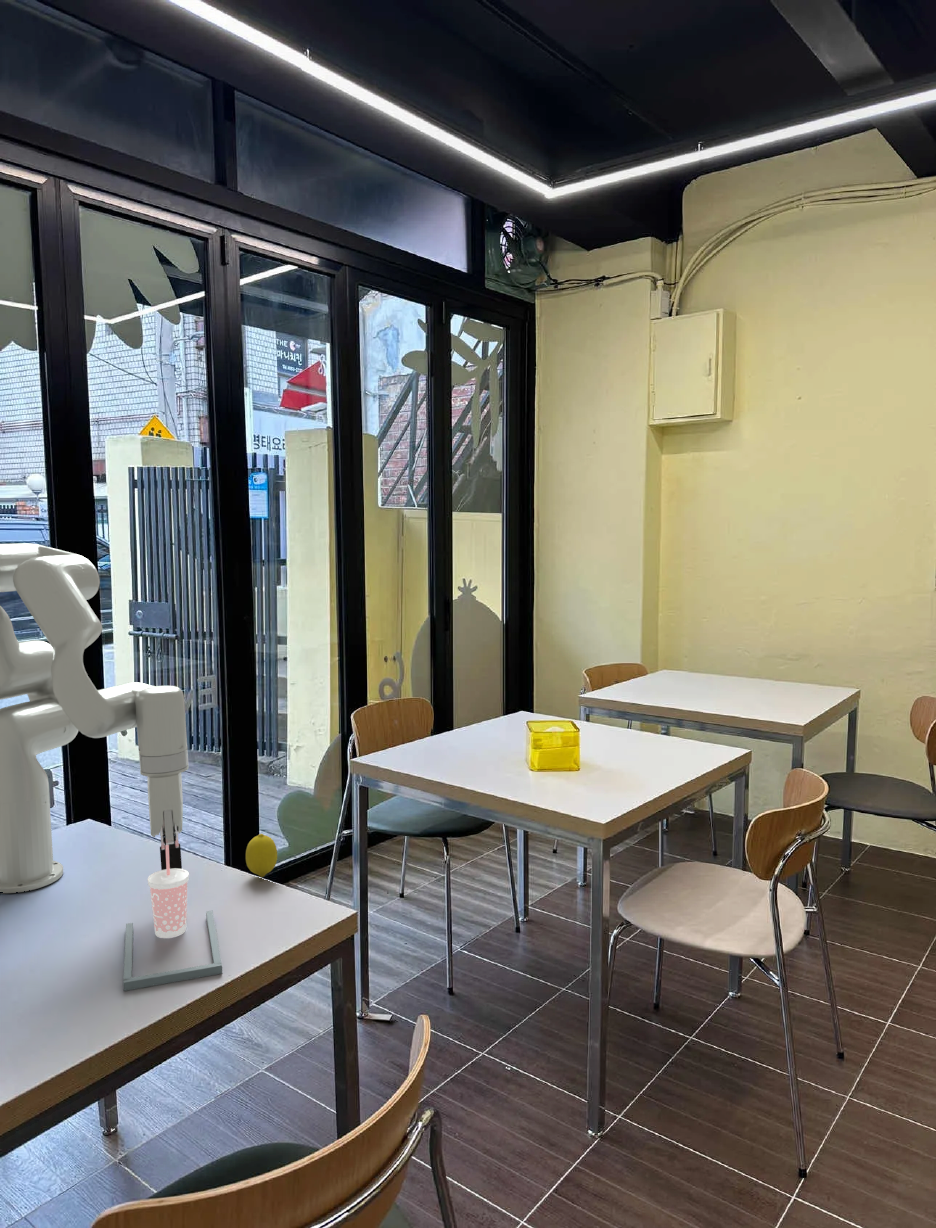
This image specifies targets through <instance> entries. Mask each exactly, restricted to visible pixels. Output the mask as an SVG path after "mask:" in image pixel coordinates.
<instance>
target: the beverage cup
mask: <svg viewBox="0 0 936 1228" xmlns="http://www.w3.org/2000/svg"><path fill="white" fill-rule="evenodd" d="M165 846H166V869H165V870H161V869H160V870H158V871H155V872H153V873H151V874H150V875H148V877H147V885H148V887H149V891H150V901H151V908H152V919H153V925H154V934H155V936H156V937H157V938H161V939H172V938H176V937H179V936H181V935H183V934H184V933H185V932H186V931H187V915H188V913H187V911H188V882H189V879H190V877H189V876H190V872H189V871H188V870H186V869H183V868H182V869H178V868H173V869H170V863H169V845H168V844H167V845H165Z"/></svg>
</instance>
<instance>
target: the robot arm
mask: <svg viewBox="0 0 936 1228" xmlns="http://www.w3.org/2000/svg"><path fill="white" fill-rule="evenodd" d="M99 589H100V575H99V573H98V570H97V568H96V566H95V565H94V564H93V563H92V562H91V561H90V560H89V558H86V557H84V556H83V555H80V554H77V553H74V552H71V551H70V552H69V551H65V550H62V549H58V548H53V547H49V546H46V545H42V544H38V543H30V542H29V543H25V542H24V543H23V542H22V543H21V542H20V543H19V542H18V543H16V542H15V543H0V593H5V592H17V594H18V596H19V597H20V599H21V601H22V602H23V604H24V606H25V607H26V608H27V610H28V612H29V613H30V615H31V616H32V618H33V619H34V621H35V623H36V624H37V626H38V627H39V629H40V630H41V632H42V633H43V635H44V637H45V639H46V640H47V641H48V642H46V641H44V640H38V639H37V640H36V639H35V640H34V639H33V640H25V641H18V638H17V637H16V634H15V631H14V626H13V623H12V619H11V618H10V616H9V614H8V613H7V611H6V610H5V609H4V608H3V607H2V606H1V605H0V701H2V700H6V699H11V698H16V697H20V696H24V695H27V697H28V700H29V701H25V702H20V703H17V704H12V705H8V706H5V707H2V708H0V892H3V893H2V894H17V893H16V892H18V893H25V892H30V891H33V890H37V889H41V888H44V887H46V886H49V885H50V884H53V883H54V882H56V881H58V880H59V879H60V878H61V877H62V876H63V874H64V866H63V864H62V863H60V862H58V861H57V860H54V854H53V853H54V852H53V837H52V836H53V835H52V833H53V832H52V820H51V819H52V818H51V800H50V799H51V798H50V784H49V778H48V774H47V772H46V771H45V769H44V768H43V766H42V765H41V763H40V762H39V760H38V758H37V755H40V754H42V753H45V752H47V751H51V750H55V749H57V748H59V747H63V746H66V745H68V744H69V743H71V742H72V741H73V740H74V739H75V738H76V736H77V735H78V733H79V732H80V733H81V734H82V735H84V736H85V737H88V738H92V739H100V738H105V737H108V736H111V735H114V734H118V733H121V732H123V731H127V730H131V729H134V728H136V732H137V743H138V746H137V747H138V756H139V757H138V759H139V770H140V771H139V773H140V776H143V777H147V780H146V783H147V800H148V813H149V816H148V817H149V827H150V828H149V829H150V836H151V837H153V838H156V836H159V837H160V846H159V854H160V857H159V858H160V868H161V869H160V870H165V869H166V846H165V845H167V844H168V845H169V863H170V869H173V868H178V869H183V865H182V852H181V850H182V849H181V843H179V834H181V833H182V831H183V818H184V816H183V815H184V813H183V812H184V808H183V807H184V805H183V804H184V802H183V801H184V799H183V780H182V778H183V776H182V773H184V772H186V771H188V769H189V768H190V767H189V754H188V753H189V752H188V739H187V725H186V724H187V723H186V711H185V710H186V708H185V695H184V692H183V690H182V689H181V688H180V687H178V686H176V685H156V686H155V685H153V684H152V685H151V684H147V683H143V682H137V681H135V682H132V681H131V682H125V683H122V684H117V685H114V686H109V687H106V688H101V689H97V688H96V686H95V684H94V683H93V682H92V680H91V678H90V677H89V676H88V675H89V674H88V673H87V671H86V668H85V665H84V652H85V650H86V649H87V648H88V647H89V646H91V645H92V644H93V643H94V642H95V641H96V640H97V639H98V638H99V636H100V635H101V634H102V631H103V626H102V622H101V620H100V619H99V618H98V616H97V615H96V614H95V612H94V610H93V609H92V608H91V606H90V604H89V602H88V601H89V600H90V599H92V598H93V597H94V596H95V595H96V594H97V593H98V591H99ZM87 600H88V601H87ZM29 890H30V891H29ZM24 891H25V892H24Z"/></svg>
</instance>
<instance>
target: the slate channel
mask: <svg viewBox="0 0 936 1228" xmlns="http://www.w3.org/2000/svg"><path fill="white" fill-rule="evenodd" d="M205 914H206V915H205V916H206V924H207V931H208V938H209V944H210V952H211V956H212V957H211V959H212V963H208V964H203V965H202V964H201V965H196V966H191V967H184V968H180V969H173V970H168V971H163V972H158V973H157V972H155V973H151V974H145V975H140V976H139V975H138V976H135V977H133V953H134V952H133V951H134V950H133V949H134V923H133V922H130V923H129V922H127V923H125V940H124V963H123V983H122V986H123V992H126V991H132V990H133V991H134V990H137V989H143V988H148V987H153V986H154V987H155V986H161V985H166V984H171V983H176V982H181V981H182V982H183V981H187V980H193V979H198V978H203V977H208V976H209V977H211V976H216V975H221V974H223V963H222V957H221V952H220V951H221V950H220V946H219V940H218V935H217V934H218V933H217V928H216V924H215V923H216V922H215V917H214V911H213V910H206V911H205Z"/></svg>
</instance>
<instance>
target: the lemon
mask: <svg viewBox="0 0 936 1228" xmlns="http://www.w3.org/2000/svg"><path fill="white" fill-rule="evenodd" d="M277 861H278V848H277V846H276V843H275V841H274V839H273V838H271V837H270V836H268V835H265V834H263V833H259V834H258V835H256V836H254V837H253V838H252V839H251V840H250V841H249V842H248V843H247V846H246V849H245V863H246V866H247V868H248V870H249V871H250V872H252V874H255V875H258V876H259V877H260V878H264V877H265V876H266V875H267V874H269V873H271V872H272V871H273V869H274V868H275V867H276V865H277Z"/></svg>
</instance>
